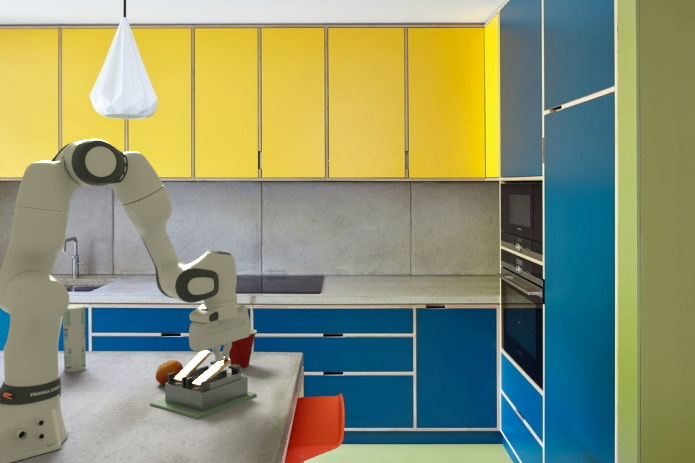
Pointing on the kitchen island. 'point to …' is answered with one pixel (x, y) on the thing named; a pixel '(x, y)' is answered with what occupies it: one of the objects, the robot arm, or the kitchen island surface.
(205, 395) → the grey toaster
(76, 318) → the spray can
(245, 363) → the plastic cup
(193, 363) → the strap far
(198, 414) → the board
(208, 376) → the strap near
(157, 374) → the fruit
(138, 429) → the kitchen island surface
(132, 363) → the kitchen island surface
